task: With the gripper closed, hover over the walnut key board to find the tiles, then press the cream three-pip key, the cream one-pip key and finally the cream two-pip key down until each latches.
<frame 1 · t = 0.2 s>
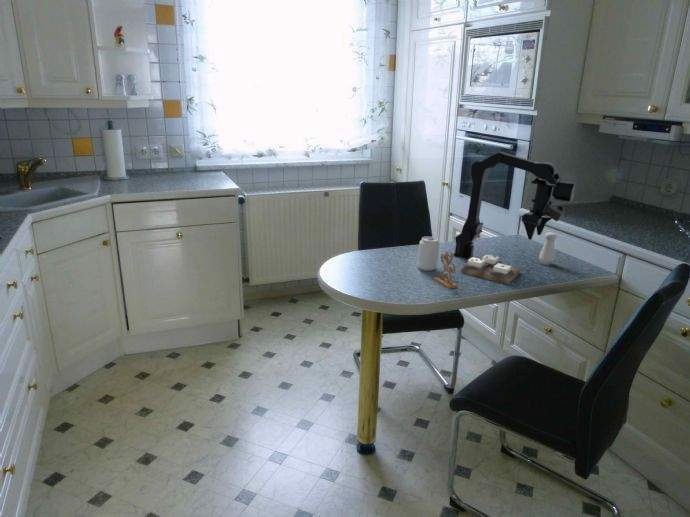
hand: (534, 237, 195), 14 cm above the table, fingers open, 9 cm apart
tile one: (502, 268, 189), point 4 cm above the table, slide at 0.0 cm
figurine on base: (445, 284, 182), on the table
tile two: (490, 259, 198), point 4 cm above the table, slide at 0.0 cm
can: (426, 268, 196), on the table
tile three: (476, 262, 194), point 4 cm above the table, slide at 0.0 cm
key board: (490, 272, 196), on the table
salt shaker: (545, 263, 210), on the table
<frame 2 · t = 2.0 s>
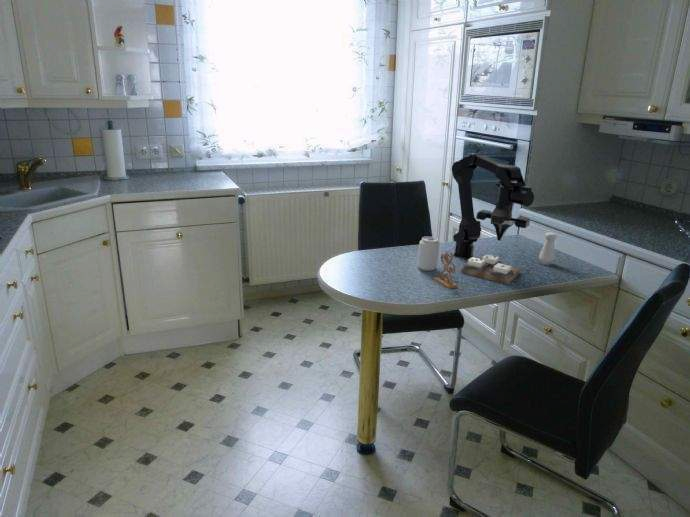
hand: (499, 240, 195), 12 cm above the table, fingers closed
nothing on the table moved.
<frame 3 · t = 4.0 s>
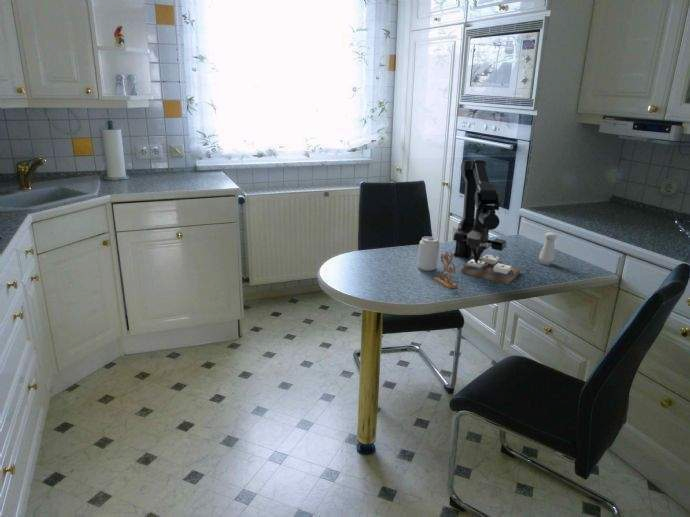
hand: (476, 261, 194), 4 cm above the table, fingers closed, pressing on tile three
tile three: (475, 264, 194), point 3 cm above the table, slide at 0.9 cm, touching gripper
everything else where it was.
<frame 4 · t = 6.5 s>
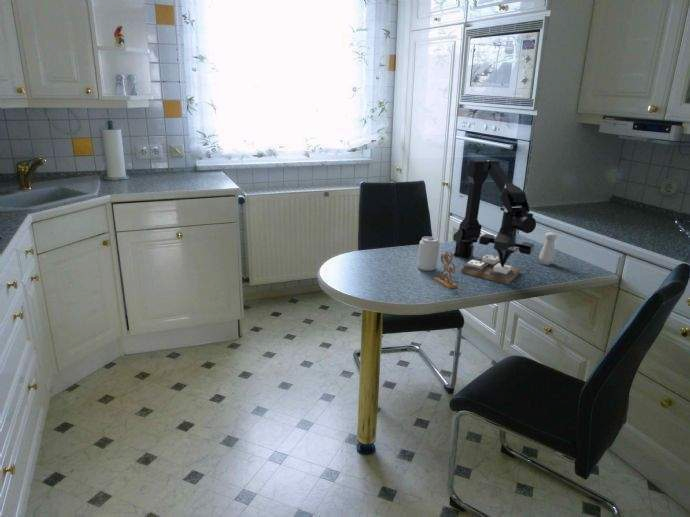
hand: (502, 265, 189), 5 cm above the table, fingers closed, pressing on tile one
tile one: (502, 268, 189), point 4 cm above the table, slide at 0.0 cm, touching gripper
tile three: (475, 264, 194), point 3 cm above the table, slide at 1.1 cm
everything else where it was.
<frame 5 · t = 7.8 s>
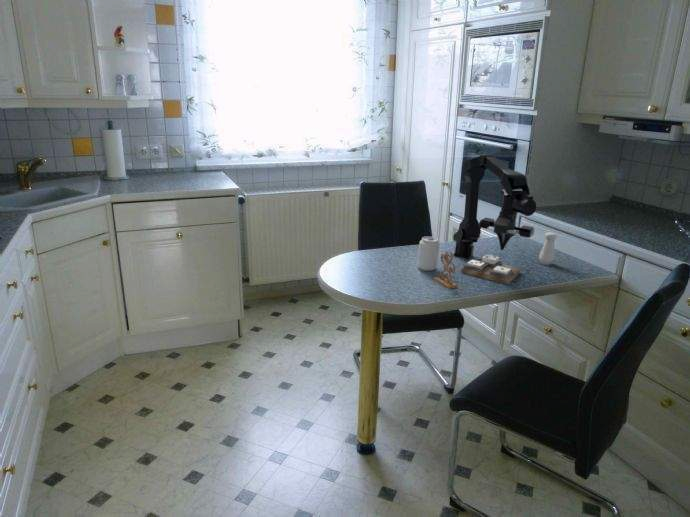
hand: (502, 249, 189), 11 cm above the table, fingers closed
tile one: (501, 271, 189), point 3 cm above the table, slide at 1.1 cm
everything else where it was.
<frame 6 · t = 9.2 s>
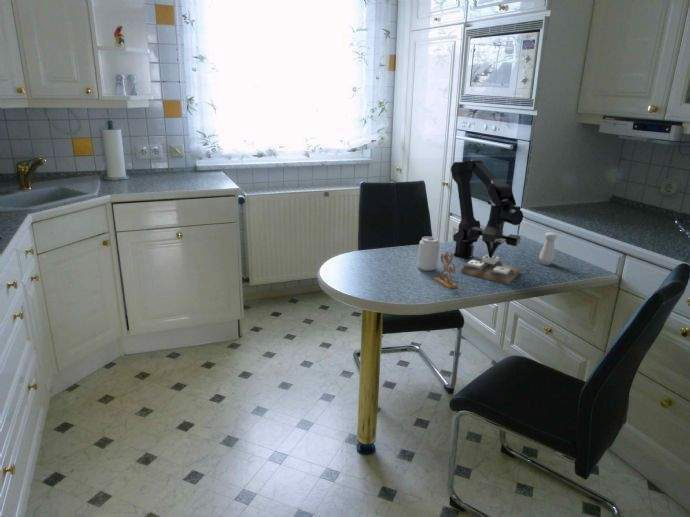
hand: (490, 257, 198), 5 cm above the table, fingers closed, pressing on tile two
tile two: (490, 259, 198), point 4 cm above the table, slide at 0.0 cm, touching gripper
everything else where it was.
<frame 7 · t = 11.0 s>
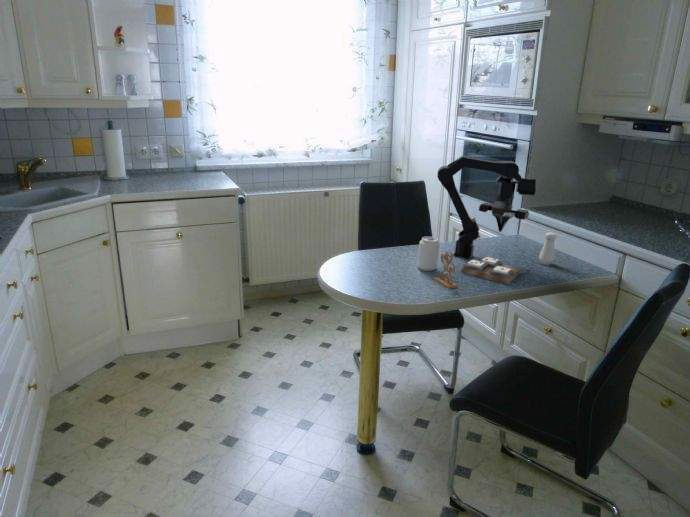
hand: (500, 231, 208), 12 cm above the table, fingers closed
tile two: (490, 261, 199), point 3 cm above the table, slide at 1.0 cm
everything else where it was.
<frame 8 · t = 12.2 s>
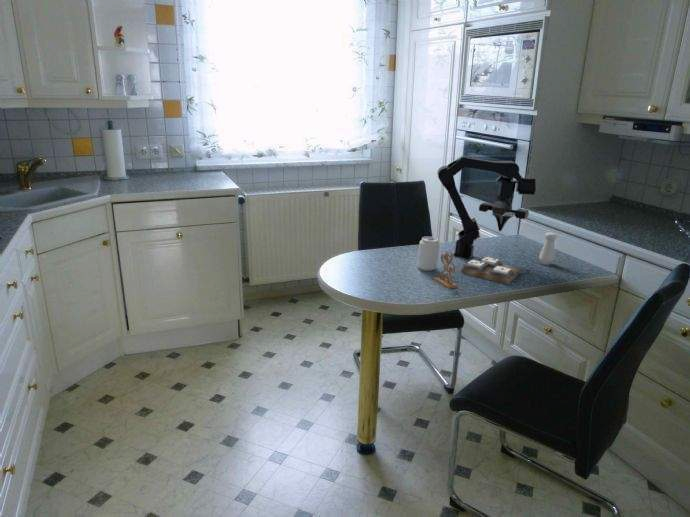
hand: (500, 231, 208), 12 cm above the table, fingers closed
nothing on the table moved.
at the end: tile three slide at 1.1 cm; tile one slide at 1.1 cm; tile two slide at 1.0 cm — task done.
